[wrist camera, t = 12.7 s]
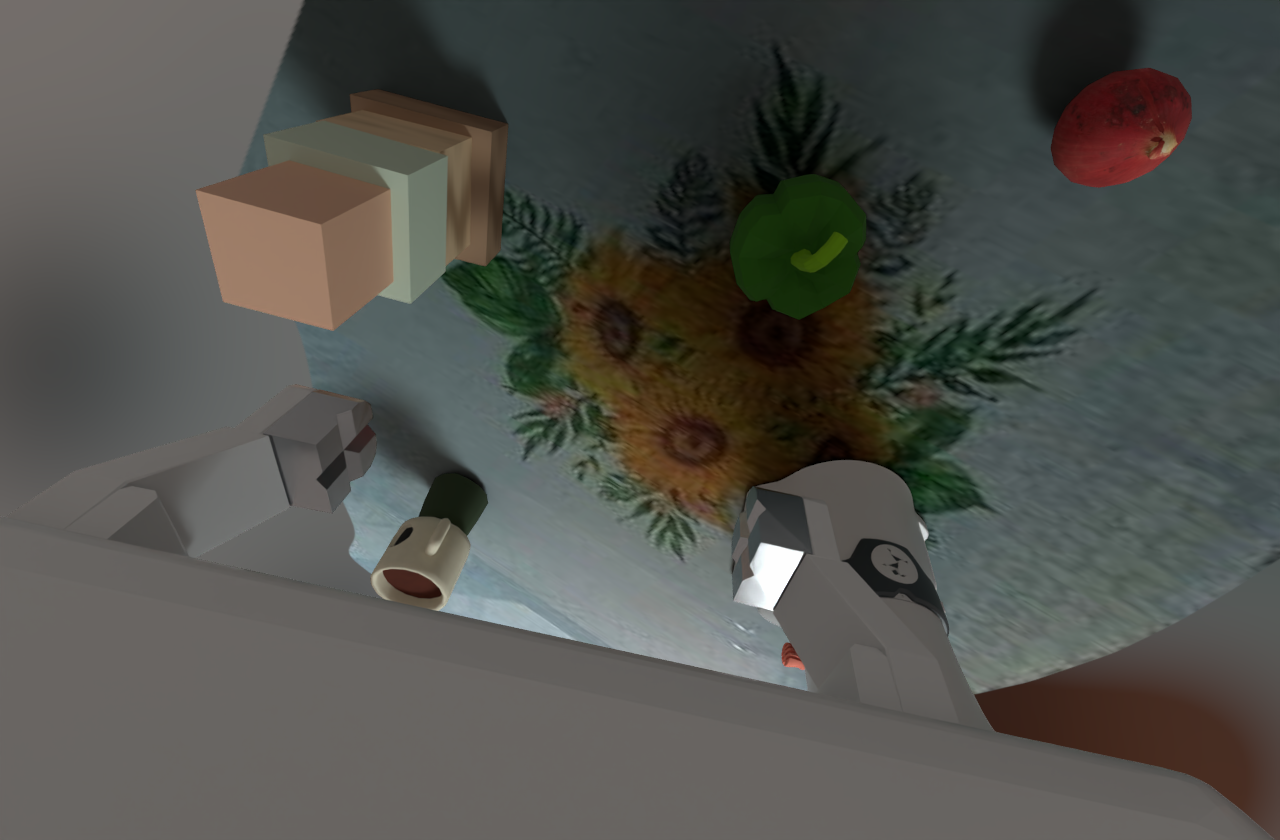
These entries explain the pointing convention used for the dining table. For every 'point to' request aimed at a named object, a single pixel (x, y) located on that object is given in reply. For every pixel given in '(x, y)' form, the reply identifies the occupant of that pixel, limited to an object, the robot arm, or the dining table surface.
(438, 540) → the character mug
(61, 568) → the robot arm
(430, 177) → the sage cube
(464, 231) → the oak cube
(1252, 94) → the dining table surface
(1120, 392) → the dining table surface
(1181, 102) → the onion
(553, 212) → the dining table surface
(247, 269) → the terracotta block
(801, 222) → the bell pepper
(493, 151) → the walnut slab
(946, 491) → the dining table surface
